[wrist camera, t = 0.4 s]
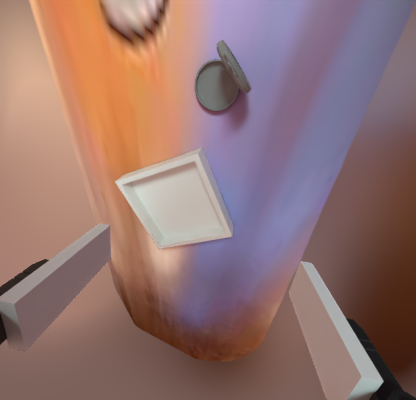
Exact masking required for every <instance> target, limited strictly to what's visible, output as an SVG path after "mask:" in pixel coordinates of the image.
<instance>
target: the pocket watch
mask: <svg viewBox="0 0 416 400" xmlns="http://www.w3.org/2000/svg"><path fill="white" fill-rule="evenodd" d="M217 51H218V54H219V56H220V58H221V59H222V60H219V59H215V60H211V61H208V62H207V63H205V64H204V65H203V66H202V67H201V68H200V70H199V71H198V73H197V76H196V79H195V92H196V96H197V98H198V100H199V101H200V103H201V104H202V105H203V106H204V107H206V108H207V109H209V110H213V111H221V110H224V109H226V108H228V107H229V106H230V105H231V104H232V103H233V102H234V101H235V99H236V97H237V95H238V91H239V88H240V90H241V91H242V92H244V93H246V94H247V93H248V92H250V90H251V86H250V84H249V82H248V80H247V78H246V76H245V74H244V72H243V70H242V69H241V67H240V65H239V64H238V62H237V60H236V59H235V57H234V55H233V54H232V52H231V50H230V49H229V47H228V46H227V44H226V43H225V42H224V41H223V40H222V41H219V42H218V43H217Z"/></svg>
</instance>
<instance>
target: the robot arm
mask: <svg viewBox="0 0 416 400" xmlns="http://www.w3.org/2000/svg"><path fill="white" fill-rule="evenodd" d="M110 259H111V245H110V225H106V224H100V223H99V224H98V225H96V226H95V227H94V228H93V229H91V230H90V231H88V232H87V233H86V234H84V235H83V236H82V237H80V238H79V239H77V240H76V241H75V242H73V243H72V244H71V245H69V246H68V247H67V248H65V249H64V250H63V251H61V252H60V253H58V254H57V255H56V256H55V257H53V258H52V259H50V260H46V259H44V260H42V261H39V262H37V263H35V264H33V265H31V266H30V267H28V268H27V269H25V270H24V271H23V272H22V273H20V274H18V275H17V276H15V277H14V279H11V280H10V281H8V282H7V283H5V284H4V285H2V286H1V287H0V344H1V343H2V342H4V341H5V340H6V339H7V341H8V345H9V348H12V349H17V350H22V351H27V350H28V349H29V348H30V347H31V346H32V344H33V343H34V342H35V341H36V340H37V339H38V338H39V337H40V335H42V333H43V332H44V331H45V330H46V329H47V328H48V327H49V326H50V325H51V323H52V322H53V321H54V320H55V319H56V318H57V317H58V316H59V315H60V313H61V312H62V311H63V310H64V309H65V308H66V307H67V306H68V305H69V304H70V303H71V301H72V300H73V299H74V298H75V297H76V296H77V295H78V294H79V293H80V291H81V290H82V289H83V288H84V287H85V286H86V285H87V284H88V283H89V282H90V281H91V279H92V278H93V277H94V276H95V275H96V274H97V273H98V272H99V271H100V270H101V268H102V267H103V266H104V265H105V264H106V263H107V262H108V261H109V260H110ZM289 295H290V298H291V301H292V304H293V307H294V309H295V312H296V315H297V318H298V321H299V323H300V326H301V329H302V332H303V335H304V338H305V340H306V343H307V346H308V349H309V352H310V355H311V357H312V360H313V363H314V366H315V369H316V371H317V374H318V377H319V380H320V382H321V386H322V388H323V391H324V393H325V397H326V400H416V398H415V397H413V396H411V395H410V394H408V393H407V392H404V391H403V390H402V388H401V386H400V385H399V383H398V382H397V380H396V379H395V377H394V376H393V374H392V373H391V371H390V370H389V368H388V367H387V365H386V364H385V362H384V361H383V359H382V358H381V356H380V355H379V353H378V352H377V350H376V348H375V347H374V345H373V344H372V343H371V342H370V340H369V338H368V336H367V335H366V333H365V332H364V330H363V329H362V328H361V327H360V326H359V325H358V324H357V323H356V322H355V321H354V320H352V319H347V318H345V317H344V315H343V313H342V312H341V310H340V308H339V307H338V305H337V303H336V302H335V300H334V298H333V297H332V295H331V294H330V292H329V290H328V289H327V287H326V285H325V284H324V282H323V280H322V279H321V277H320V275H319V274H318V272H317V270H316V269H315V267H314V266H313V264H312V263H308V262H303V261H301V262H300V264H299V267H298V269H297V272H296V275H295V277H294V280H293V283H292V286H291V288H290V291H289Z"/></svg>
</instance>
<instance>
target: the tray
mask: <svg viewBox="0 0 416 400" xmlns="http://www.w3.org/2000/svg"><path fill="white" fill-rule="evenodd" d="M115 182H116V184H117V185H118V187H119V189H120V190H121V192H122V193H123V195H124V196H125V198H126V199H127V201H128V203H129V204H130V206H131V207H132V209H133V210H134V212H135V213H136V215H137V217H138V218H139V220H140V221H141V223H142V224H143V226H144V227H145V229H146V231H147V232H148V234H149V235H150V237H151V238H152V240H153V241H154V243H155V245H156V246H157V248H158V249H162V248H168V247H174V246H180V245H186V244H192V243H198V242H204V241H210V240H216V239H222V238H228V237H232V236H233V229H234V225H233V222H232V220H231V217H230V215H229V212H228V210H227V207H226V205H225V202H224V200H223V197H222V195H221V192H220V190H219V187H218V185H217V182H216V180H215V177H214V175H213V172H212V170H211V167H210V165H209V162H208V160H207V157H206V155H205V152H204V150H203V147H202V148H199V149H196V150H193V151H190V152H187V153H184V154H182V155H179V156H176V157H173V158H170V159H167V160H164V161H162V162H159V163H156V164H153V165H150V166H147V167H144V168H142V169H139V170H136V171H133V172H130V173H127V174H125V175H123V176H122V177H121V178H119V179H118V180H117V181H115Z"/></svg>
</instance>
